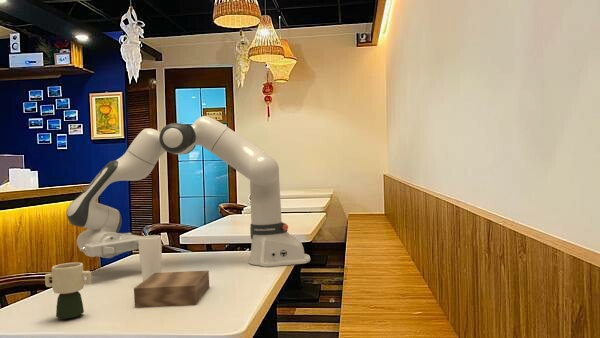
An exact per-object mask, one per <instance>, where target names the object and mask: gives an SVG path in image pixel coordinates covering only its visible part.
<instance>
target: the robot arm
mask: <svg viewBox="0 0 600 338" xmlns="http://www.w3.org/2000/svg"><path fill="white" fill-rule="evenodd" d="M196 146H201V147H203V149H205V150H207V151H208V152H210V153H212V155H214V156H216V157H217V158H219V159H220V160H222V161H223V162H224V163H226V164H227V165H228V166H229V167H231V168H233V169H234V170H236V171H237V172H238V173H240V174H241V175H242V176H244V177H245V178H247V179H248V180H249V185H250V186H249V193H250V196H249V197H250V200H249V201H250V218H251V219H250V227H249V230H250V231H249V232H250V239H251V244H250V246H251V248H250V255H249V260H248V263H249V264H251V265H255V266H261V267H265V268H267V267H278V266H279V267H280V266H289V265H301V264H302V265H303V264H307V263H310V262H311V256H310V255H309V254H307V253H305V250H304V249H305V248H304V246H303V243H302V241H300V240H299V239H298V238H296V237H295V236H293V235H292V234H290V233H289V232H288V229H289V225H288V223H285V222H283V221H282V210H281V209H282V206H281V202H282V201H281V187H280V186H281V183H280V168H279V165H278V164H279V163H278V162H277V161H276V159H274V158H273V157H272V156H271V155H269V154H267V152H265V151H263V150H262V149H260V148H259V147H257V146H256V145H254V144H253V143H251V141H248V140H247V139H246V138H244V137H243V136H242V135H240V134H238V133H237V132H236V131H234V130H233V129H231V128H230V127H229V126H227V125H225V124H224V123H222V122H220V121H218V120H217V119H215V118H212V117H210V116H208V115H203V116H200V117H198V118H197V119H196V120H195V121H194V122H193V123H192V124H190V123H179V122H171V123H169V124H166V125H165V126H164V127H162V129H161V130H160V131H159V130H157V129H154V128H143V129H142V130H141V131H140V132H139V133H138V134H137V135H136V137H135V138H134V139H133V141H132V142H131V143H130V145H129V146H128V148H127V150H126V151H125V153H123V155H122V156H120V157H119V158H117V159H116V160H111V161H109V162H108V163H107V164H105V166H104V167H102V169H101V170H100V171H99V172H98V173H97V174H96V175H95V177H94V178H93V179H92V181H90V183H89V184H88V185H87V186H86V187H85V188H84V190H83V191H82V192H81V193H80V194H79V195H78V196H77V197H75V198H74V199H73V200H72V201H71V203H70V204H69V206H68V207H67V209H66V216H67V220H68V221H69V223H70V224H71V226H74V227H79V228H83V229H84V228H85V229H86V230H84V231H82V232H81V233H79V235H77V239H76V245H77V247H78V249H79V252H83V253H84V255H85V256H87V257H90V258H95V257H99V258H104V259H112V258H114V257H116V256H119V255H120V254H124V253H128V252H130V251H131V252H132V251H135V250H139V239H138V238H139V237H143V236H142V235H137V234H133V233H132V232H120V230H121V227H122V222H123V221H122V219H123V218H122V215H121V213H120V210H119V209H116V208H114V207H112V206H109V205H105V204H103V203H99V202H96V200H97V199H98V198H99V197H100V195H102V193H103V192H104V191H105V189H107V187H109V185H110V184H113V183H115V182H120V181H122V182H123V181H124V182H125V181H127V182H128V181H131V182H134V181H141V180H143V179H145V178H147V177H148V176H149V175H150V174H151V172H152V171H153V170H154V168H155V166H156V165H157V163H158V161H159V160H160V158H161V156H162V155H163V154H165V153H167V152H168V153H170V154H173V155H179V156H180V155H187V154H189V153H191V152H192V151H193V150H194V149H195V148H196Z"/></svg>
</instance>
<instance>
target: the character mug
mask: <svg viewBox="0 0 600 338" xmlns="http://www.w3.org/2000/svg"><path fill="white" fill-rule="evenodd" d="M85 276H86V279H85ZM50 278H51V282H50ZM44 281H45V282H44V283H45V286H46V288H52V291H53V293H54V294H58V296H57V301H56V310H55V311H56V314H55V315H56V318H58V319H62V320H64V319H65V320H67V319H71V318H77V317H78V316H80V315H82V314H83V313H85V310H84V304H83V299H82V295H81V293H80V291H81V290H83V289H84V286H85V285H89V284H92V272H91V271H90V270H84V264H83V262H66V263H60V264H57V265H53V266H52V267H51V273H46V274H45V276H44Z"/></svg>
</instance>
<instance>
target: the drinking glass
mask: <svg viewBox="0 0 600 338" xmlns="http://www.w3.org/2000/svg"><path fill="white" fill-rule="evenodd" d="M138 239H139V249H138V255H139V261H140V269H141V277H142V282H143V281H145V280H146V279H147V278H149V277H150V276H151V275H153V274H154V273H162V249H163V248H162V236H161V235H157V234H156V235H155V234H154V235H153V234H152V235H151V234H149V235H144V236H143V237H139V238H138Z"/></svg>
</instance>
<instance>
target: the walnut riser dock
mask: <svg viewBox="0 0 600 338" xmlns="http://www.w3.org/2000/svg"><path fill="white" fill-rule="evenodd" d="M209 289H210V271H209V270H207V269H206V270H191V271H190V270H189V271H186V270H184V271H171V272H170V271H166V272H161V273H154V274H153V275H151V276H150V277H149V278H147V279H146V280H145V281H143V280H142V282H141V283H139V284H138V285H136V286H135V287H133V297H134V298H133V299H134V301H133V303H134V308H153V307H154V308H155V307H156V306H157V307H177V306H194V305H195V306H196V305H197V304H198V303H199V301H201V299H202V298H203V296H204V295H205V294H206V293H207V291H208V290H209ZM157 307H156V308H157Z"/></svg>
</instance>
